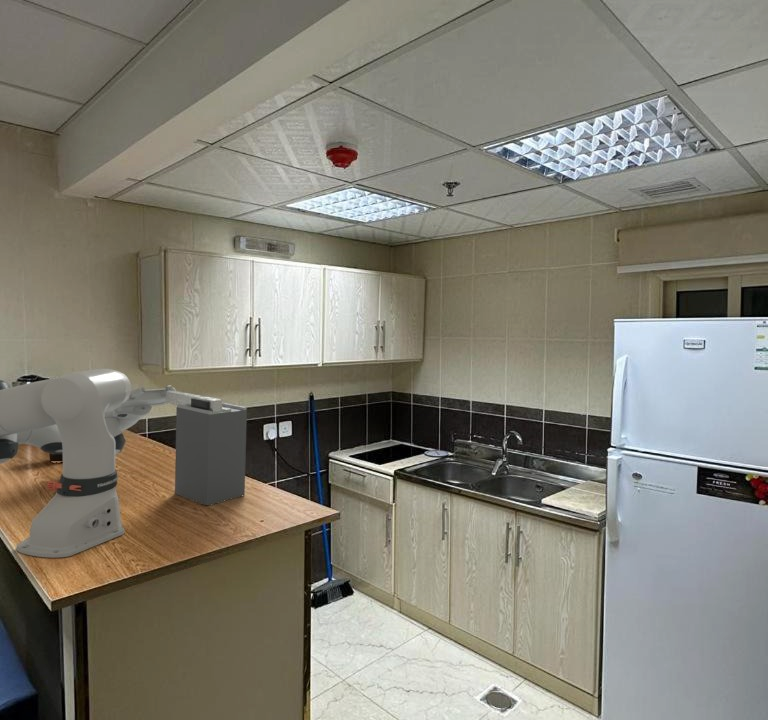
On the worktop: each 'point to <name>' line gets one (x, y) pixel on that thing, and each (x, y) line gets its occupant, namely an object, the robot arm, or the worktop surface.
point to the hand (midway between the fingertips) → (156, 388)
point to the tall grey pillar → (210, 453)
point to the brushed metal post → (194, 401)
